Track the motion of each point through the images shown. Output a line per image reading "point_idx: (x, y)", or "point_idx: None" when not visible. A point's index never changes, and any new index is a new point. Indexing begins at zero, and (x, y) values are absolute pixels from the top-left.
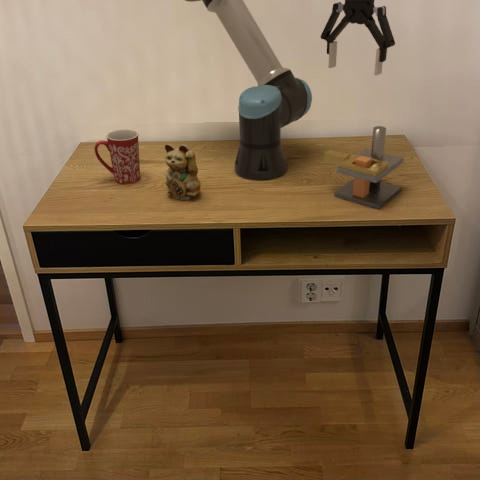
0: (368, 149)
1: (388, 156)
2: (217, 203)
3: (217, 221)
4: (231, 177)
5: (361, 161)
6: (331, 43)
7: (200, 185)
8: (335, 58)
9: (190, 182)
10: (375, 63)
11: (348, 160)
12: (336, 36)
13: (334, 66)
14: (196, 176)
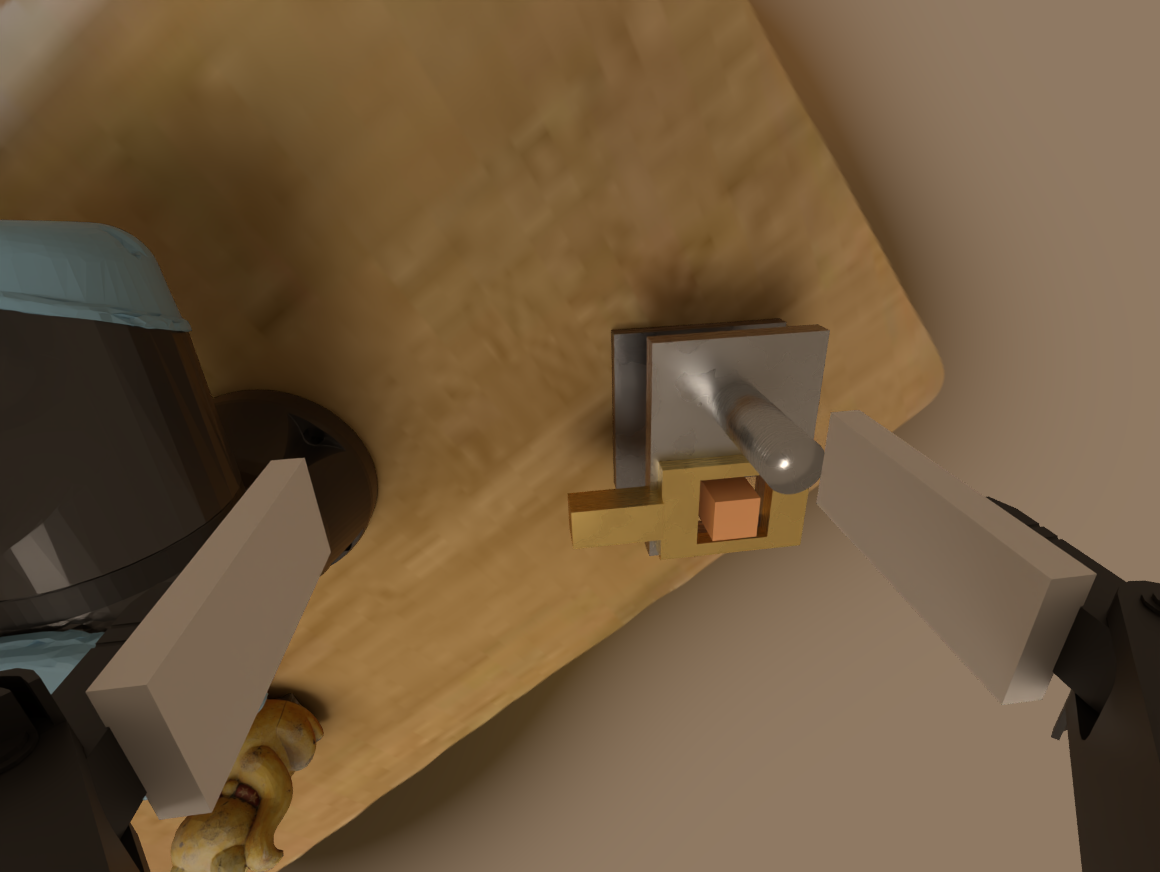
0: (666, 346)
1: (770, 361)
2: (383, 692)
3: (460, 736)
4: None
5: (736, 536)
6: (198, 810)
7: (304, 726)
8: (277, 528)
9: (299, 769)
10: (882, 572)
11: (675, 528)
12: (112, 837)
13: (310, 487)
14: (276, 746)
